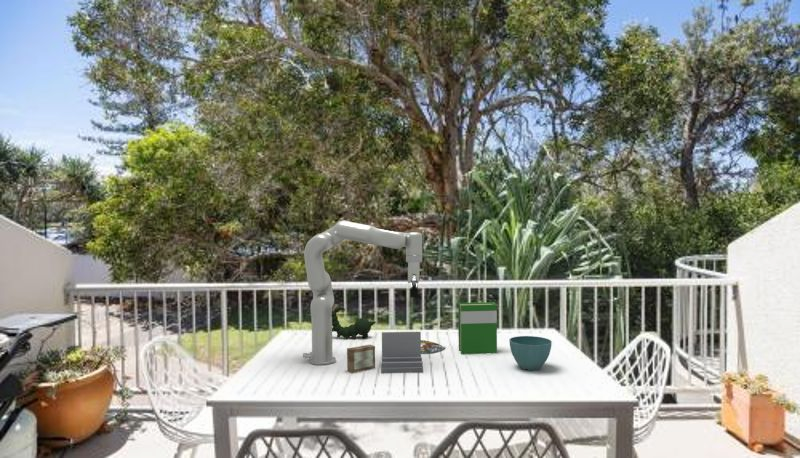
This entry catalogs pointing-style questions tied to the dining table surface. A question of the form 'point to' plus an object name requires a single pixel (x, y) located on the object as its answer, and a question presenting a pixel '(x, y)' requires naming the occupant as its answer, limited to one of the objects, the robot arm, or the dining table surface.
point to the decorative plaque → (430, 347)
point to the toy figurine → (351, 326)
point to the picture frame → (360, 358)
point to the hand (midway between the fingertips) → (414, 295)
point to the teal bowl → (530, 351)
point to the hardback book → (477, 327)
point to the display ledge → (401, 352)
